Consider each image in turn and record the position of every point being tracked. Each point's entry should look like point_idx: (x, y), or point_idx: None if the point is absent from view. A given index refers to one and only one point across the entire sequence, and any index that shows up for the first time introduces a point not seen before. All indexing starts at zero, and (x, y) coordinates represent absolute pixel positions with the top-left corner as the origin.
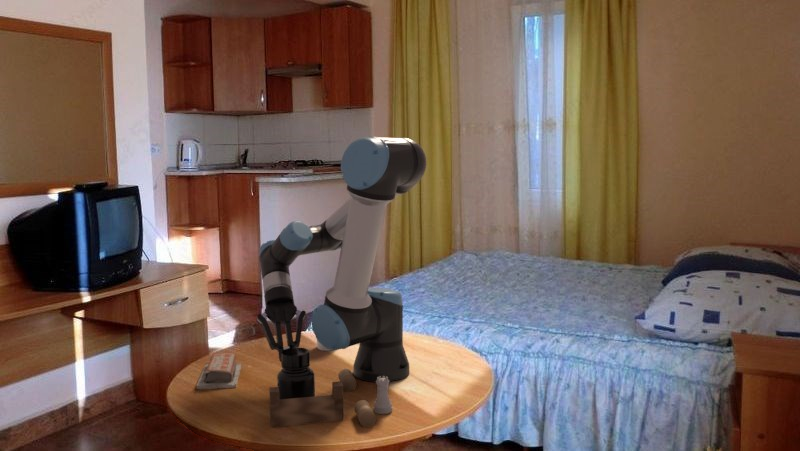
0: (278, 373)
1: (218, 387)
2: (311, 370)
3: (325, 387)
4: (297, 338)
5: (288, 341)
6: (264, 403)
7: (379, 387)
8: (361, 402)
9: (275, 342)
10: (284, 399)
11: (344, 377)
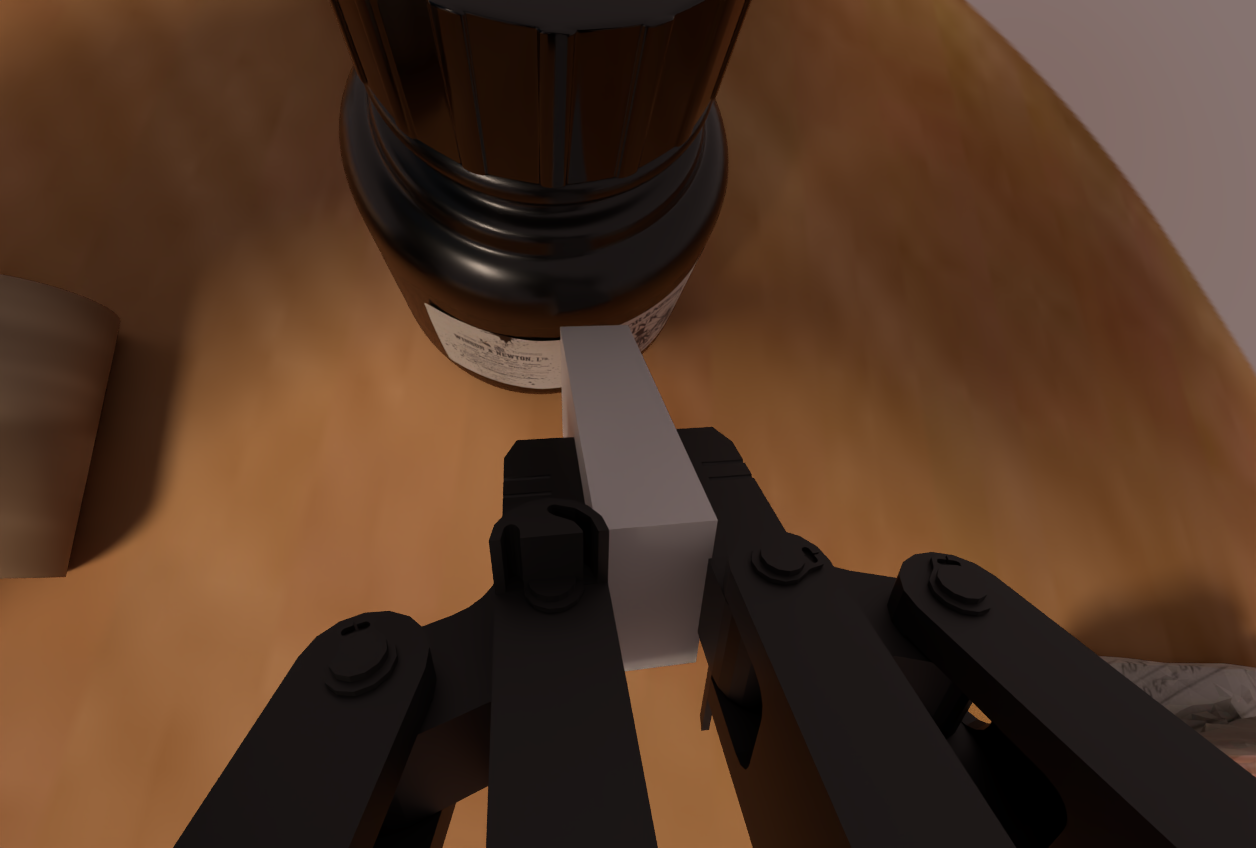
0: (723, 149)
1: (1114, 657)
2: (361, 84)
3: (264, 470)
4: (341, 733)
5: (617, 634)
6: (759, 275)
7: None
8: None
9: (922, 608)
10: None
11: (8, 331)
